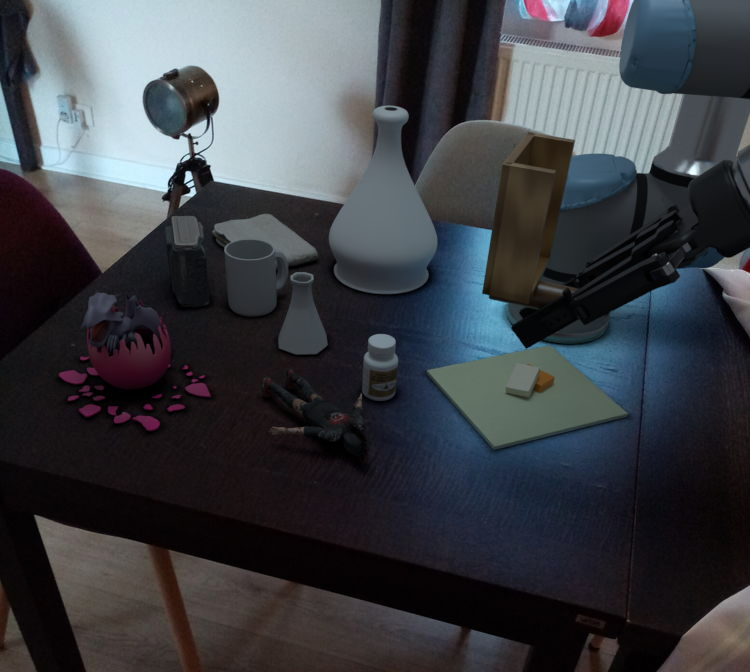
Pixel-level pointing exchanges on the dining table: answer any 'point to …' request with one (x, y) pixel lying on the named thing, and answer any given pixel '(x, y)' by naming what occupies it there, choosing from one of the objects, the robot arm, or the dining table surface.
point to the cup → (254, 276)
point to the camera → (187, 261)
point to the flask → (302, 320)
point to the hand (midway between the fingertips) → (523, 328)
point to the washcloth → (267, 237)
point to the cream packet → (522, 380)
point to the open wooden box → (527, 221)
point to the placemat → (522, 414)
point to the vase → (384, 220)
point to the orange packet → (543, 381)
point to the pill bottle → (380, 368)
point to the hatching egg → (126, 354)
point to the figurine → (320, 415)
